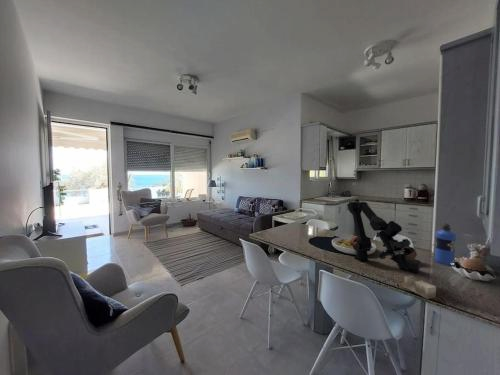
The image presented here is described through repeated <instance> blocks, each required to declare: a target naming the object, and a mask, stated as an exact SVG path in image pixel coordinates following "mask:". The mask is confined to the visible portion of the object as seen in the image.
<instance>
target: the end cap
mask: <svg viewBox="0 0 500 375" xmlns="http://www.w3.org/2000/svg"><path fill="white" fill-rule="evenodd" d="M406 261H407V265H408V269H405V268H403V267H402V266H400V265H399V264H398V263H396V265H397V268H399V269H403V270H405V271H410V272H413V273H417V274H419V273H420V272H421V270H420V269H421V264H422V262H421V260H419V259H416V258H415V259H414V260H411V259H408V258H407V257H406Z"/></svg>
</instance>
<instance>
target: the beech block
mask: <svg viewBox="0 0 500 375" xmlns="http://www.w3.org/2000/svg"><path fill="white" fill-rule="evenodd" d="M401 282H402V284H401V285H402V287H404V288H406V289H407V290H409V291H411V292H413V293H415V294H417V295H419V296H421V297H423V298H425V299H427V300H428V299H434V298H436V297H437V295H436V294H437V286H436V285H433V284H431V283H428V282H427V281H424V280H422V279H420V278H418V277H416V276H414V275H411V274H408V275H403V276H402V281H401Z"/></svg>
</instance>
